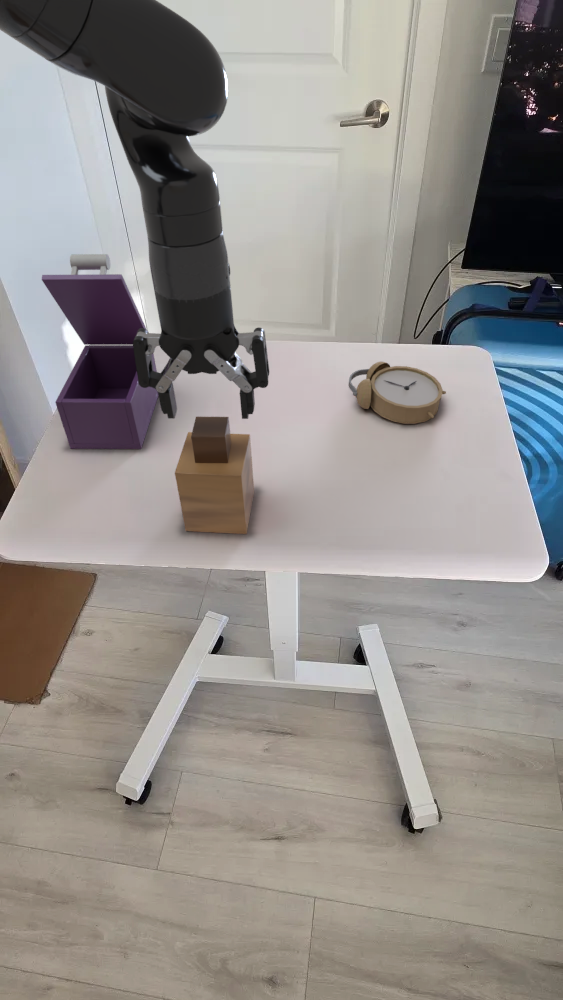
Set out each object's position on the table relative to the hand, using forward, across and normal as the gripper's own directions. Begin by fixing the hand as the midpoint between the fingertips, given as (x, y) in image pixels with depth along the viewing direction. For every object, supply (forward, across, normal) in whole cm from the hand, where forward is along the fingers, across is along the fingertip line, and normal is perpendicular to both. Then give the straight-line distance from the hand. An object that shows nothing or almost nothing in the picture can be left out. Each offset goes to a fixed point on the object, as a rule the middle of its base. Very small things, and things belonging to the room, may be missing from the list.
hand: (209, 414), depth 72 cm
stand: (+16, 0, 0) cm, 16 cm away
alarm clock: (+16, +25, +26) cm, 39 cm away
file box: (+16, -19, +21) cm, 32 cm away
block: (+6, 0, 0) cm, 6 cm away
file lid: (0, -19, +24) cm, 31 cm away
